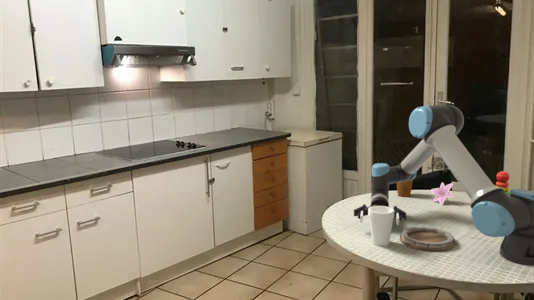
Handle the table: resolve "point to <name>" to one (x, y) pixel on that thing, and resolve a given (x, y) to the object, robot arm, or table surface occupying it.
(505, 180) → the stacking toy
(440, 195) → the lily
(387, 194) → the robot arm
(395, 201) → the table surface
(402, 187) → the disposable coffee cup
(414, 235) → the plate
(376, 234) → the foam cup
